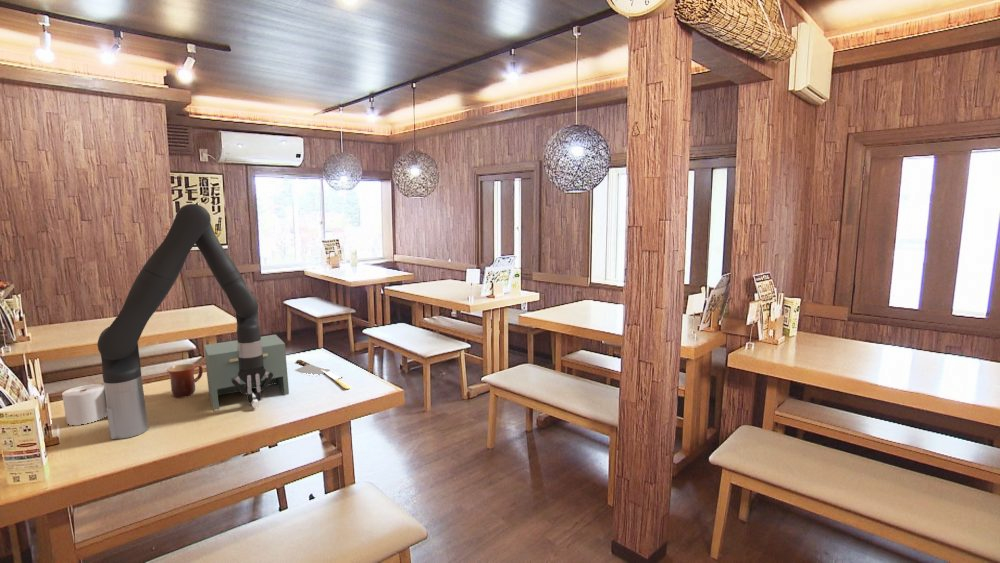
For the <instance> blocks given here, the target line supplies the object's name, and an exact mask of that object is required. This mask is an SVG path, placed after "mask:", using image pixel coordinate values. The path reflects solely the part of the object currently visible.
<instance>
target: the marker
mask: <svg viewBox="0 0 1000 563" xmlns="http://www.w3.org/2000/svg"><path fill="white" fill-rule="evenodd" d="M245 394H246V393H245ZM246 396H247V394H246ZM252 397H253V401H252V402H251V404H250V405H251V406H252V407H253V408H254V409H256V408H259V407H260V405H261V403H260V401H258V400H257V399H256V396H255V392H253V391H252Z"/></svg>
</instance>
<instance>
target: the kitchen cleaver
mask: <svg viewBox="0 0 1000 563" xmlns="http://www.w3.org/2000/svg"><path fill="white" fill-rule="evenodd" d="M298 363H299V364H298ZM295 364H298V365H300V364H301V366H300V367H299V368H296V369H295V370H294V371H296V372H298V373H301V374H303V373H306V374H307V373H308V374H311V373H312V374H313V375H314V374H318V375H319V376H321V375H320V374H322V375H324V374H323V373H324V372H323V371H325V372H330V370H331V369H330V368H328V369H324V368H321V367H319V366H316V365H313V364H311V363H309V362H306V361H304V360H301V359H298V360H296V361H295ZM303 365H304V366H303ZM321 370H323V371H321ZM306 374H305V375H306Z"/></svg>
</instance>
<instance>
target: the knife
mask: <svg viewBox="0 0 1000 563" xmlns="http://www.w3.org/2000/svg"><path fill="white" fill-rule="evenodd" d="M323 367H324V366H322V367H320V368H323ZM321 371H323V370H321ZM323 372H324V373H325V374H326V375H327V376H328V377H329V378H331V379H333V381H335V382H336V384H338V385H340V386H341V387H342V388H343V389H345V390H349V389H351V388H352V386H351V385H347V384H346V383H345V382H343V381H341V380H340V379H341V377H339V376H337V375H335V374H333V373H332V372H325V371H323ZM325 374H324V375H325Z"/></svg>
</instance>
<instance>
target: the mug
mask: <svg viewBox="0 0 1000 563" xmlns="http://www.w3.org/2000/svg"><path fill="white" fill-rule="evenodd" d="M196 368H198V375H197V376H196V377H195V375H194V373H195V370H196ZM166 371H167V373H168V377H169V379H170V380H169V381H170V387H171V388H170V391H171V394H172V396H173V397H175V398H185V396H186V397H189V396H191V394H192V395H193V394H194V393H195V391H196V383H197V382H199V380H200V379H201V378H202V376H203V371H204V369H203V365H201V364H193V363H184V364H183V363H182V364H176V365H174V366H170V367H168V368H167V369H166Z"/></svg>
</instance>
